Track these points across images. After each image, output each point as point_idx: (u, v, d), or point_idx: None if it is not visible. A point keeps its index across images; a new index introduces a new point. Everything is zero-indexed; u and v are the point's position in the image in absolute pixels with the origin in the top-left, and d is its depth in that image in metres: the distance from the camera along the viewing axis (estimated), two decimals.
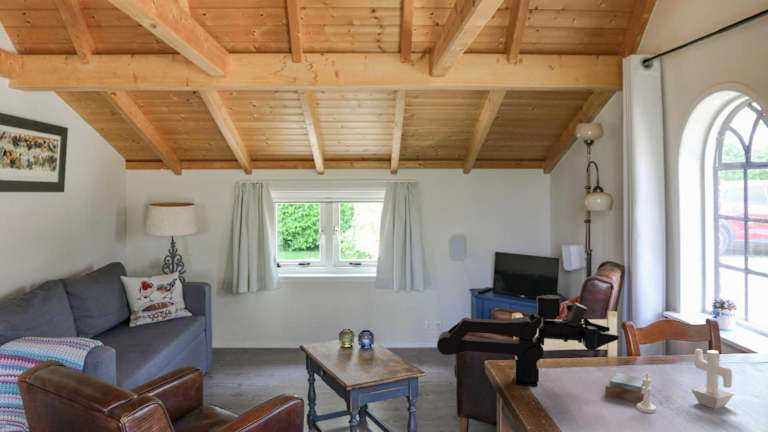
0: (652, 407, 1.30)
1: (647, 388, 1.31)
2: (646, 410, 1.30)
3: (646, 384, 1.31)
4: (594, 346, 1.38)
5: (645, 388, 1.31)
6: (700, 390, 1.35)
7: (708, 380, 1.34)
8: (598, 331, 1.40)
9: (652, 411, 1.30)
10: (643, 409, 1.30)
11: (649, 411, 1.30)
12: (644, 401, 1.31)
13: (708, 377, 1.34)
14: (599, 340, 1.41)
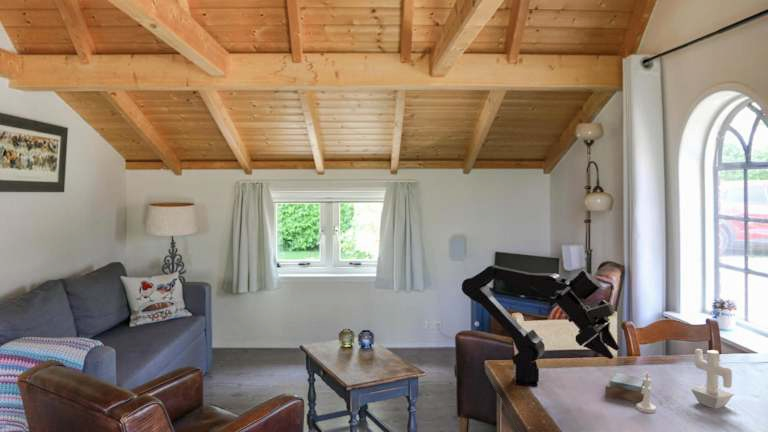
0: (652, 407, 1.30)
1: (647, 388, 1.31)
2: (646, 410, 1.30)
3: (646, 384, 1.31)
4: (582, 342, 1.32)
5: (645, 388, 1.31)
6: (700, 390, 1.35)
7: (708, 380, 1.34)
8: (599, 337, 1.32)
9: (652, 411, 1.30)
10: (643, 409, 1.30)
11: (649, 411, 1.30)
12: (644, 401, 1.31)
13: (708, 377, 1.34)
14: (593, 344, 1.34)
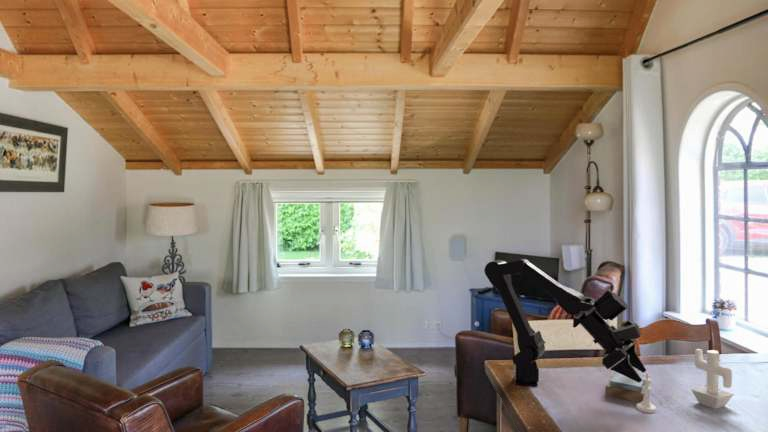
0: (652, 407, 1.30)
1: (647, 388, 1.31)
2: (646, 410, 1.30)
3: (646, 384, 1.31)
4: (610, 366, 1.28)
5: (645, 388, 1.31)
6: (700, 390, 1.35)
7: (708, 380, 1.34)
8: (627, 360, 1.28)
9: (652, 411, 1.30)
10: (643, 409, 1.30)
11: (649, 411, 1.30)
12: (644, 401, 1.31)
13: (708, 377, 1.34)
14: (621, 367, 1.30)
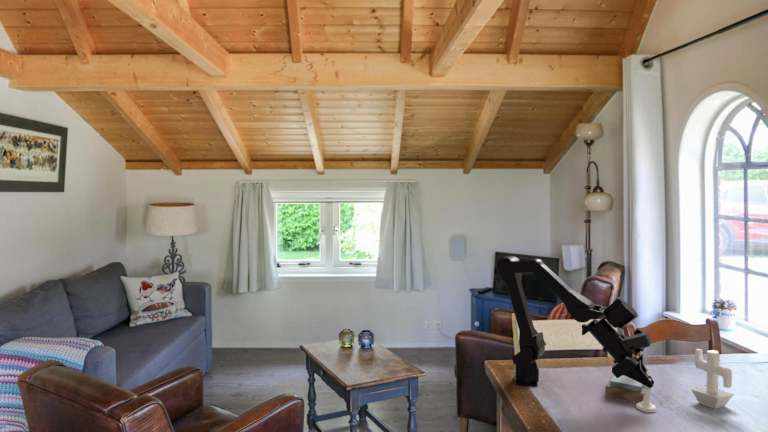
0: (652, 407, 1.30)
1: (647, 387, 1.31)
2: (646, 409, 1.30)
3: None
4: (619, 375, 1.27)
5: (645, 387, 1.31)
6: (700, 390, 1.35)
7: (708, 380, 1.34)
8: (639, 365, 1.30)
9: (652, 411, 1.30)
10: (643, 408, 1.30)
11: (649, 410, 1.30)
12: (644, 401, 1.31)
13: (708, 377, 1.34)
14: (632, 372, 1.31)
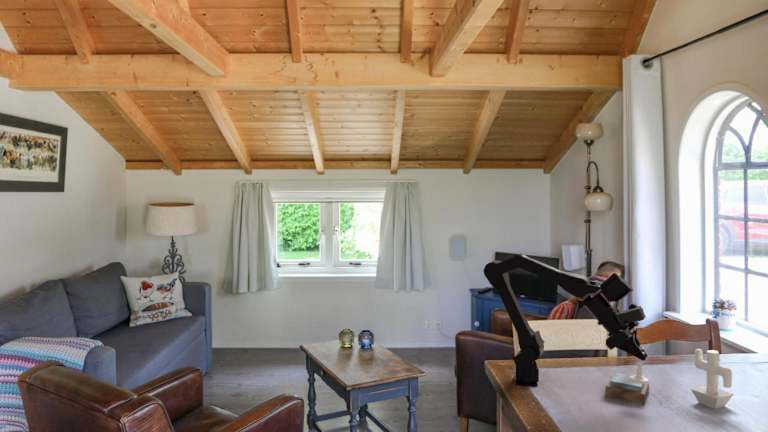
0: (645, 379, 1.33)
1: (640, 360, 1.34)
2: (639, 382, 1.32)
3: None
4: (613, 346, 1.30)
5: (638, 360, 1.34)
6: (700, 390, 1.35)
7: (708, 380, 1.34)
8: (632, 338, 1.32)
9: (645, 383, 1.32)
10: (636, 381, 1.33)
11: (642, 383, 1.32)
12: (637, 373, 1.34)
13: (708, 377, 1.34)
14: (626, 345, 1.34)
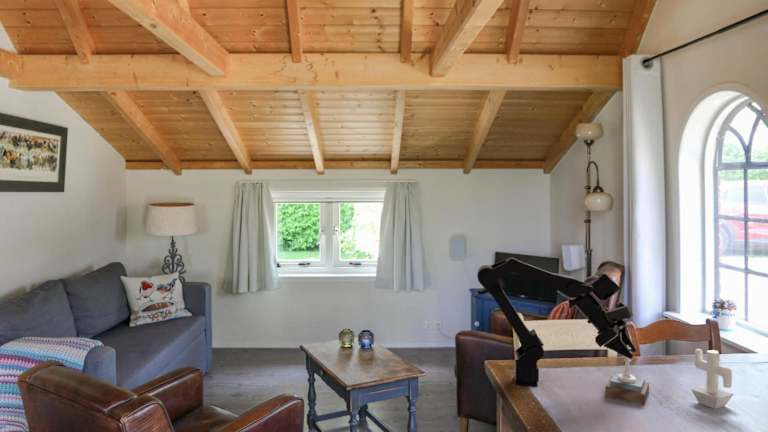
0: (632, 378, 1.40)
1: (628, 360, 1.40)
2: (626, 380, 1.39)
3: None
4: (602, 343, 1.36)
5: (626, 360, 1.40)
6: (700, 390, 1.35)
7: (708, 380, 1.34)
8: (619, 337, 1.37)
9: (632, 381, 1.39)
10: (624, 379, 1.39)
11: (629, 381, 1.39)
12: (625, 372, 1.41)
13: (708, 377, 1.34)
14: (613, 344, 1.39)
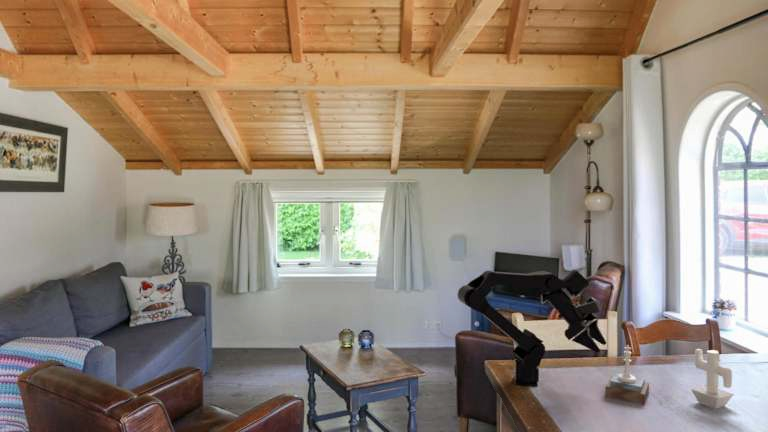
0: (632, 378, 1.40)
1: (628, 360, 1.40)
2: (626, 380, 1.39)
3: (627, 356, 1.40)
4: (571, 337, 1.41)
5: (626, 360, 1.40)
6: (700, 390, 1.35)
7: (708, 380, 1.34)
8: (586, 332, 1.41)
9: (632, 381, 1.39)
10: (624, 379, 1.39)
11: (629, 381, 1.39)
12: (625, 372, 1.41)
13: (708, 377, 1.34)
14: (581, 338, 1.42)
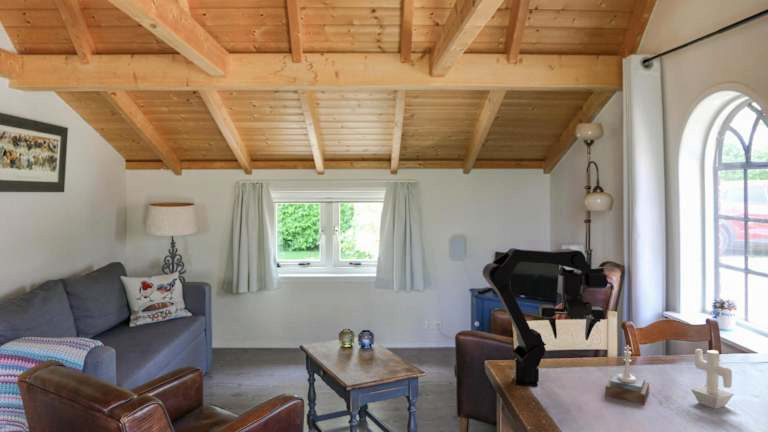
0: (632, 378, 1.40)
1: (628, 360, 1.40)
2: (626, 380, 1.39)
3: (627, 356, 1.40)
4: (539, 312, 1.55)
5: (626, 360, 1.40)
6: (700, 390, 1.35)
7: (708, 380, 1.34)
8: (549, 320, 1.51)
9: (632, 381, 1.39)
10: (624, 379, 1.39)
11: (629, 381, 1.39)
12: (625, 372, 1.41)
13: (708, 377, 1.34)
14: None
